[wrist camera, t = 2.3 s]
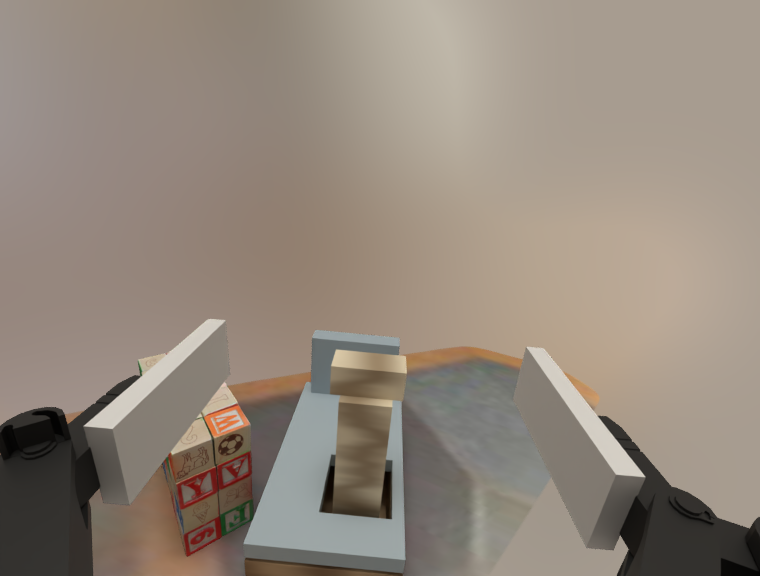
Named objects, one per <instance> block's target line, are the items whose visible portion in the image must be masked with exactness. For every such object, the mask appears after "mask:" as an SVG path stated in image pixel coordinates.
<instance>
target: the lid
mask: <svg viewBox="0 0 760 576" xmlns="http://www.w3.org/2000/svg"><path fill="white" fill-rule="evenodd" d="M399 347H400V344H399V338H395V337H384V336H374V335H364V334H352V333H342V332H332V331H321V330H316V331H315V333H314V335H313V337H312V365H311V369H312V370H311V382H306V385H305V387H304V390H303V392H302V395H301V397H300V400H299V403H298V405H297V408H296V410H295V413H294V415H293V418H292V420H291V423H290V426H289V428H288V431H287V433H286V436H285V438H284V441H283V444H282V446H281V449H280V451H279V454H278V456H277V459H276V461H275V464H274V467H273V469H272V472H271V474H270V477H269V479H268V482H267V485H266V487H265V490H264V492H263V495H262V497H261V500H260V502H259V505H258V508H257V510H256V513H255V515H254V518H253V520H252V523H251V526H250V528H249V531H248V533H247V536H246V538H245V541H244V543H243V546H244V557H246V558H256V559H266V560H276V561H286V562H296V563H306V564H316V565H326V566H336V567H346V568H356V569H366V570H376V571H386V572H396V573H403V571H404V565H405V527H404V488H403V450H402V412H401V401H395V400H393V403H392V415H391V423H390V432H389V440H388V448H387V456H386V465H385V471H387V472H391V519H382V518H372V517H362V516H352V515H342V514H332V513H321V510H322V505H323V501H324V496H325V491H326V486H327V481H328V476H329V472H330V467H331V466H335V459H336V441H337V423H338V405H339V398H340V395H333V394H330V378H331V365H332V361H333V358H334V355H335V351H336V350H347V351H357V352H368V353H378V354H388V355H399Z"/></svg>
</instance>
